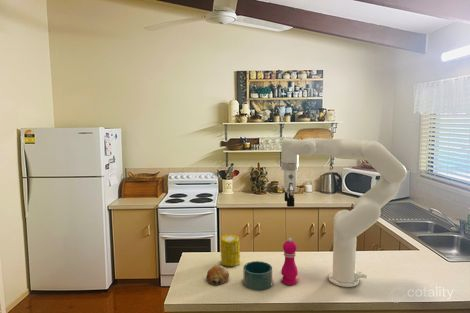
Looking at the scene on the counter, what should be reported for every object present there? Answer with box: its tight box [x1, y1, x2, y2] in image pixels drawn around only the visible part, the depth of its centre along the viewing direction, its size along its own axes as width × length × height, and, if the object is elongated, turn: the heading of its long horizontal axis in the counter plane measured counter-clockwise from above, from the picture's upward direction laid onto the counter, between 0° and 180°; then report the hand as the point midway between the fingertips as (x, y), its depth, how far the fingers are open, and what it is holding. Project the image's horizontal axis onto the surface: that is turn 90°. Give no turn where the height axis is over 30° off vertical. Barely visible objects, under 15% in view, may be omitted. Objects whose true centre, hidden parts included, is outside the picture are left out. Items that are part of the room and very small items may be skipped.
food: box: [220, 234, 241, 267], centre depth 159 cm, size 15×12×10 cm
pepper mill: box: [280, 237, 299, 286], centre depth 140 cm, size 7×7×20 cm
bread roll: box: [206, 264, 230, 286], centre depth 143 cm, size 10×10×8 cm
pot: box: [242, 260, 273, 291], centre depth 140 cm, size 13×13×7 cm
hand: (289, 203), depth 145 cm, fingers open, 9 cm apart
